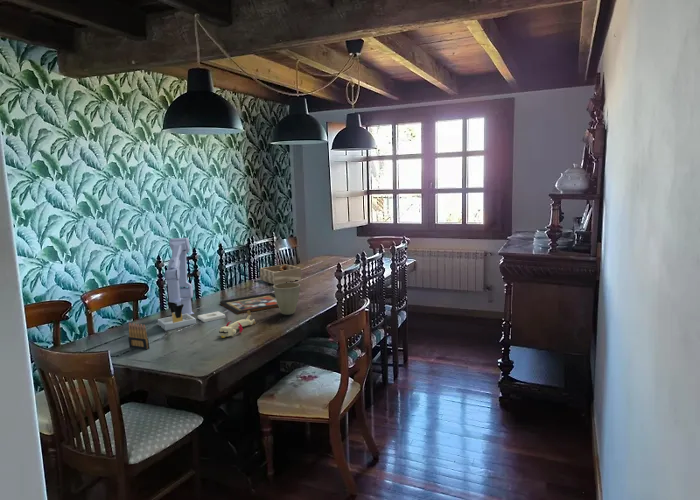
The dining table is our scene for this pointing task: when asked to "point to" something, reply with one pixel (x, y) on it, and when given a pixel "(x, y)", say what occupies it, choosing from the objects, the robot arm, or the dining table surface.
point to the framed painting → (251, 303)
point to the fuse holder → (211, 316)
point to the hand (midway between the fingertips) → (176, 316)
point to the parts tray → (168, 322)
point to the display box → (280, 274)
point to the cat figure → (236, 326)
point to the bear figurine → (283, 268)
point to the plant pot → (287, 296)
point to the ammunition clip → (138, 337)
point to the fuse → (176, 318)
